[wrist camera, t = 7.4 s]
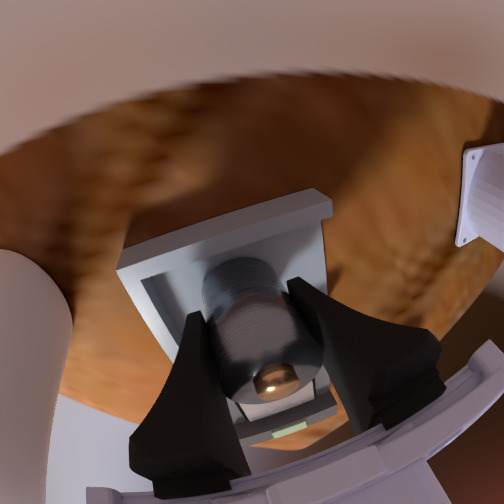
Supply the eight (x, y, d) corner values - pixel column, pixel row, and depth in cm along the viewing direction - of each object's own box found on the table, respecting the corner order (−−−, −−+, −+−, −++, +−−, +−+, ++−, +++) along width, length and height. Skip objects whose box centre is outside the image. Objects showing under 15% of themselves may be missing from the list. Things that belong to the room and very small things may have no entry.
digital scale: (192, 356, 17) (199, 397, 14) (317, 313, 18) (340, 347, 15) (234, 419, 22) (243, 449, 19) (323, 388, 23) (337, 415, 20)
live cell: (271, 246, 13) (329, 335, 8) (283, 306, 16) (329, 393, 11) (190, 272, 13) (207, 377, 8) (214, 329, 15) (238, 425, 10)
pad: (228, 378, 17) (231, 390, 16) (304, 351, 17) (310, 362, 17) (246, 411, 20) (250, 421, 19) (309, 389, 20) (314, 398, 19)
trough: (313, 187, 13) (331, 199, 12) (325, 302, 17) (339, 321, 16) (122, 249, 12) (115, 270, 11) (179, 352, 16) (182, 376, 15)
